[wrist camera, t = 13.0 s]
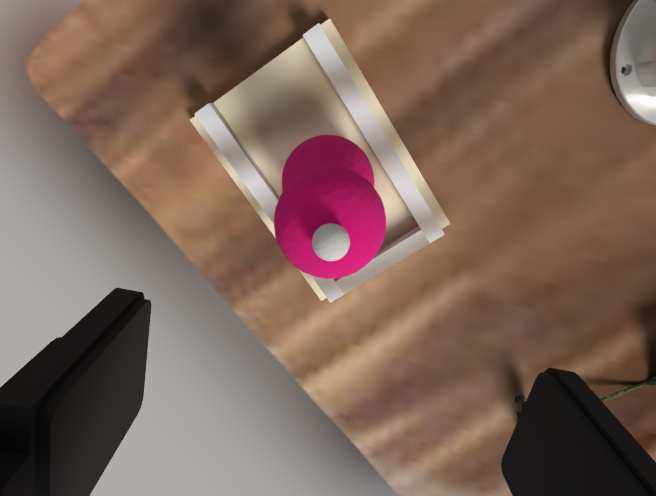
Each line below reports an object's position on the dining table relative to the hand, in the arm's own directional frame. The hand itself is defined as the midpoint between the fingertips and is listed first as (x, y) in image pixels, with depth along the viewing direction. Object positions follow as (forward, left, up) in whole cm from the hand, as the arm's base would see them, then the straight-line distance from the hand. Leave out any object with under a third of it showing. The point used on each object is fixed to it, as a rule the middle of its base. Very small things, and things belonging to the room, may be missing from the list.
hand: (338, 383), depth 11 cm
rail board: (0, 0, -31) cm, 31 cm away
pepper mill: (0, 0, -30) cm, 30 cm away
